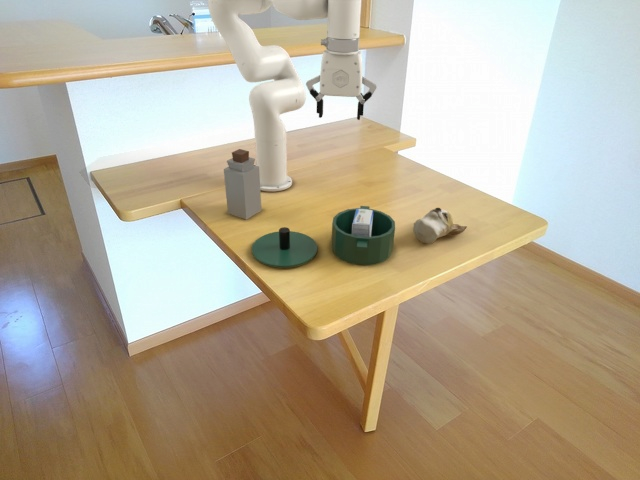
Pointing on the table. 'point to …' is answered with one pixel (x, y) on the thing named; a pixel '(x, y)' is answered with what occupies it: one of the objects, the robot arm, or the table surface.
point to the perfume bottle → (242, 185)
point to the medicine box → (362, 223)
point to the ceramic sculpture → (436, 226)
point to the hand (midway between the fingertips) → (339, 117)
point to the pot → (363, 238)
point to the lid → (284, 249)
